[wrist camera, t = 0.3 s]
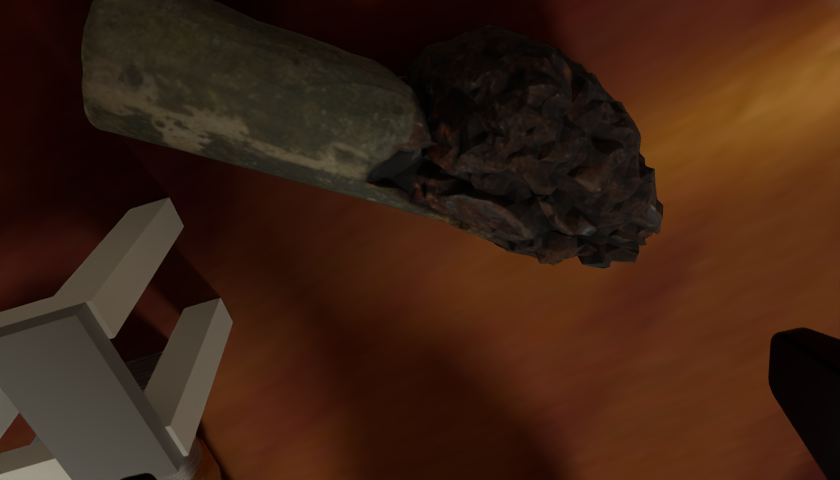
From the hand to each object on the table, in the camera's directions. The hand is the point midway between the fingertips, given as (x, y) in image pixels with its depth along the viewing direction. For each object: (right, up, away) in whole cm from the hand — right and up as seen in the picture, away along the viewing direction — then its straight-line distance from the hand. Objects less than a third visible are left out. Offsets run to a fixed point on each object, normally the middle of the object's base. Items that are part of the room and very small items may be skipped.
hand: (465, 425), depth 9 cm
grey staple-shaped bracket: (-13, 0, +14) cm, 20 cm away
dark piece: (-1, +8, +13) cm, 15 cm away
